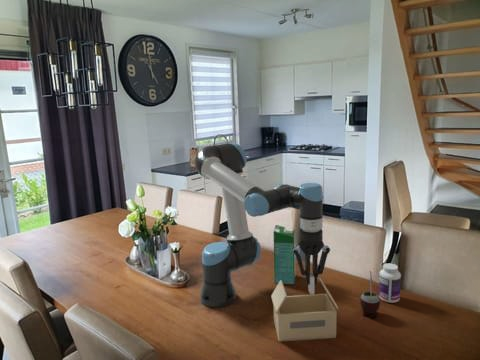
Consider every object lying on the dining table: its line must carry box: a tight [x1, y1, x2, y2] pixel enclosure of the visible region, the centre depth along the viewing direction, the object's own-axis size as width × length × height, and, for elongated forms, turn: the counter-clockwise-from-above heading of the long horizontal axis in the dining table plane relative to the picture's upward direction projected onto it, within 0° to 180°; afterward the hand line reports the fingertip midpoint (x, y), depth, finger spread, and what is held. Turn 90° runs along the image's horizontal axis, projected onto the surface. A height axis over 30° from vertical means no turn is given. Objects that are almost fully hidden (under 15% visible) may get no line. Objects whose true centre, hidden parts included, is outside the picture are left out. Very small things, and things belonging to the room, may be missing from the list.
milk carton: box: [273, 224, 297, 285], centre depth 164 cm, size 9×9×25 cm
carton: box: [273, 293, 338, 342], centre depth 129 cm, size 20×12×10 cm, turn 93°
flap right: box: [318, 277, 340, 310], centre depth 127 cm, size 1×11×7 cm
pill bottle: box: [378, 262, 402, 304], centre depth 146 cm, size 8×8×14 cm
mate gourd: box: [359, 270, 381, 319], centre depth 136 cm, size 8×8×15 cm
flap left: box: [270, 280, 288, 313], centre depth 127 cm, size 1×11×7 cm, turn 5°
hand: (311, 292), depth 127 cm, fingers closed
